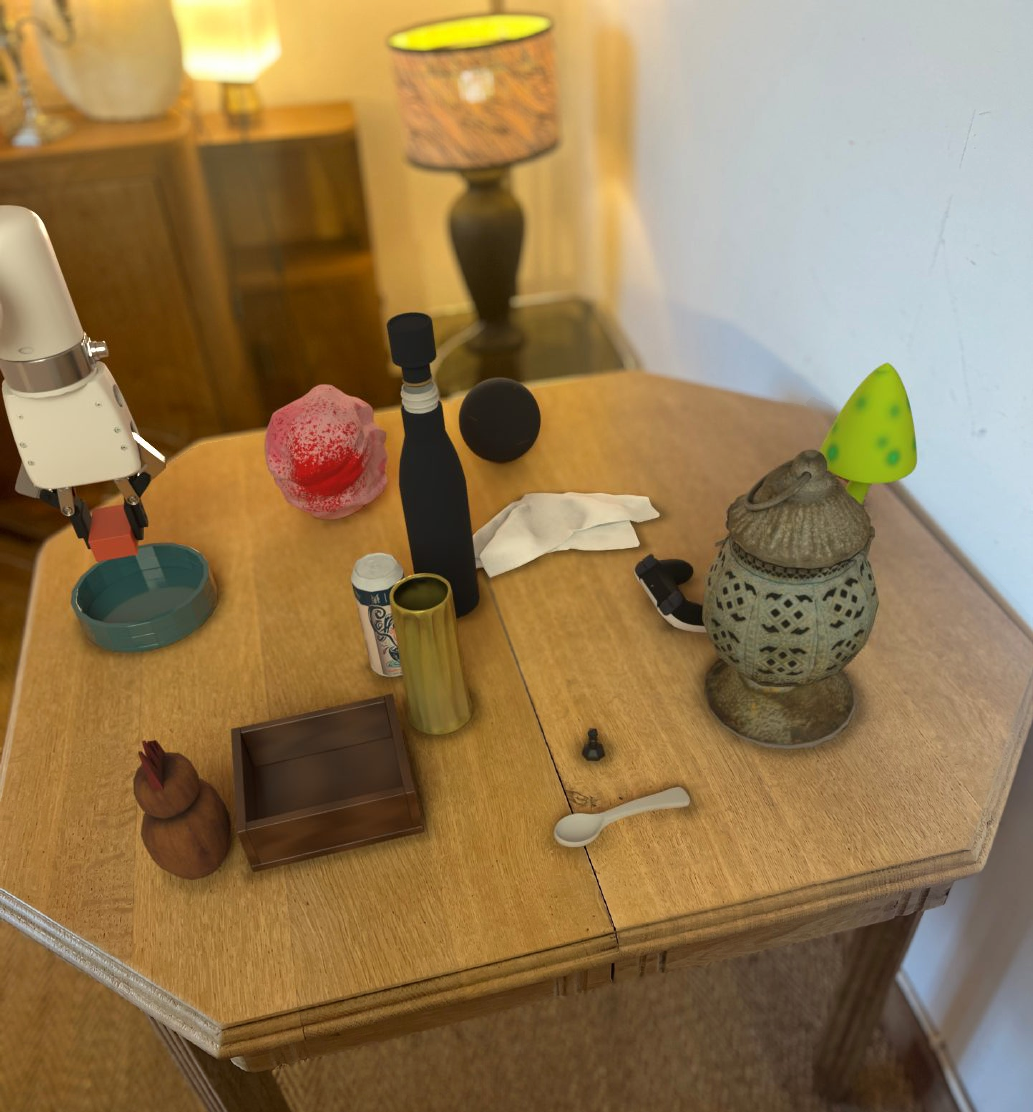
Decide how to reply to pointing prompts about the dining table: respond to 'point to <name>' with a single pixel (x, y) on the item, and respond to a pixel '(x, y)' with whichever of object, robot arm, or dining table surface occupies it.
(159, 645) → the bowl
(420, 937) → the dining table surface
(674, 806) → the spoon
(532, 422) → the speaker
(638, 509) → the cloth
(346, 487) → the decorative rock
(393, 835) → the holder
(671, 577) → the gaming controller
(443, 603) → the vase
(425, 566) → the black bottle
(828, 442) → the mushroom
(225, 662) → the dining table surface
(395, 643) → the beer can
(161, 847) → the wooden figurine
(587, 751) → the chess pawn
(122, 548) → the red rectangular prism
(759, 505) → the lantern
